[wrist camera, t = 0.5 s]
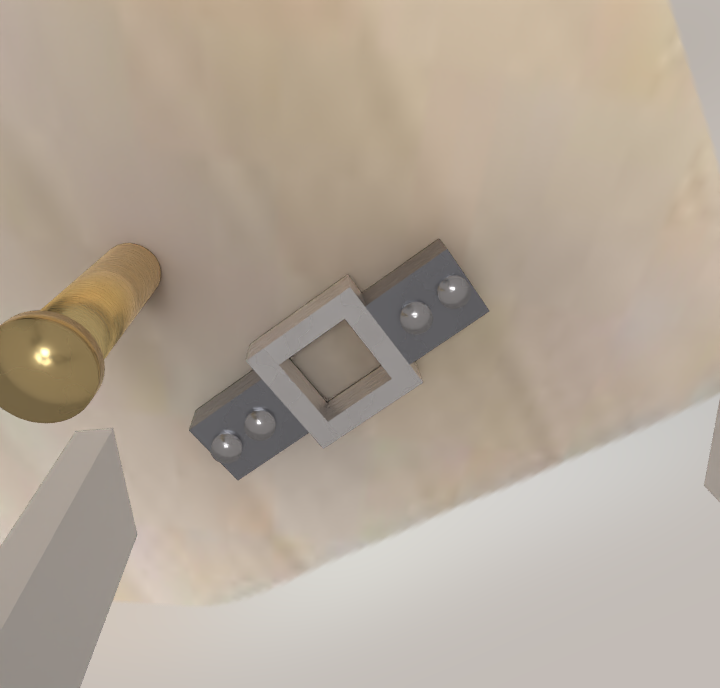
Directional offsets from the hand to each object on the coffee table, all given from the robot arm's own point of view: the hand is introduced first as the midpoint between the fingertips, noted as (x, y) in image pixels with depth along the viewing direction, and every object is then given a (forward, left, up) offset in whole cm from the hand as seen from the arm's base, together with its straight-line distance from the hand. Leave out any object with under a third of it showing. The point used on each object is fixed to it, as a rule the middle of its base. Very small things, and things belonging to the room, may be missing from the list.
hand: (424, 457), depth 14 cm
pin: (-5, -12, -24) cm, 27 cm away
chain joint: (+6, -6, -24) cm, 25 cm away
